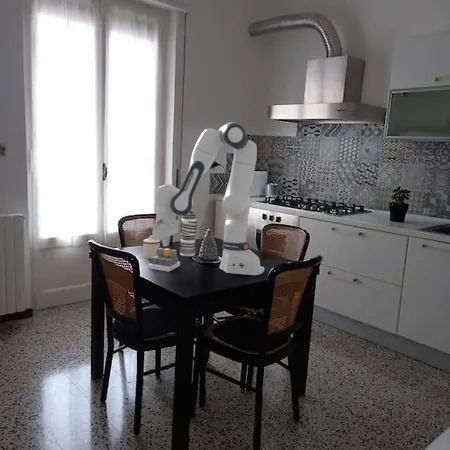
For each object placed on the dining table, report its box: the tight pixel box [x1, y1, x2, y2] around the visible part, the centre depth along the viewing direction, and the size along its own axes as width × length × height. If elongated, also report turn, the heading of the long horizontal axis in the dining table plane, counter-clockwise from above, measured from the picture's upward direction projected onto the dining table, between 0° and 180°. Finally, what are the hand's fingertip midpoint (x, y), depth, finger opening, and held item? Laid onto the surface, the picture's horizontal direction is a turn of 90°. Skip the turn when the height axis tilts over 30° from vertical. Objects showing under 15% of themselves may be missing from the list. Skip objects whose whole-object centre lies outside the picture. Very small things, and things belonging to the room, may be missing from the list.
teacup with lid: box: [142, 235, 161, 260], centre depth 236 cm, size 12×9×12 cm
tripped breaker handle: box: [163, 247, 172, 257], centre depth 219 cm, size 2×2×4 cm
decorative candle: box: [179, 209, 198, 257], centre depth 243 cm, size 9×9×25 cm
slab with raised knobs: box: [148, 247, 181, 272], centre depth 217 cm, size 11×12×8 cm
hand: (165, 245), depth 216 cm, fingers closed
